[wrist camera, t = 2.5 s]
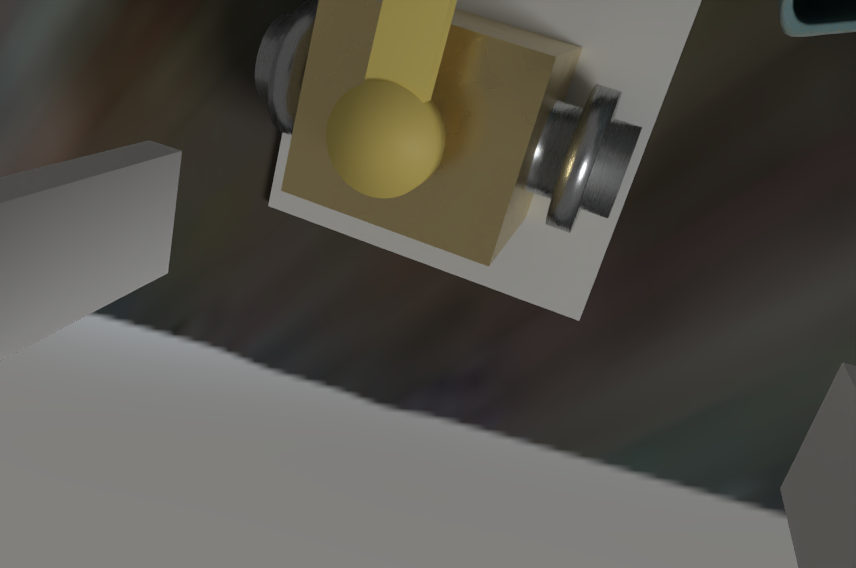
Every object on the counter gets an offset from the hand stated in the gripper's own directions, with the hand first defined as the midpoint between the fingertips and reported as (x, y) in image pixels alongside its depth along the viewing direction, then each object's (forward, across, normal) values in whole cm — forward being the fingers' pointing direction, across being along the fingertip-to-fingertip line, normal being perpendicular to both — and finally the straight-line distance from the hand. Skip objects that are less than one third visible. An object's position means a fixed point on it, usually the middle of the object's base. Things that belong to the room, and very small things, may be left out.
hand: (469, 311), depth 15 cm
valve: (+27, -7, -1) cm, 28 cm away
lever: (+16, -7, +4) cm, 18 cm away
